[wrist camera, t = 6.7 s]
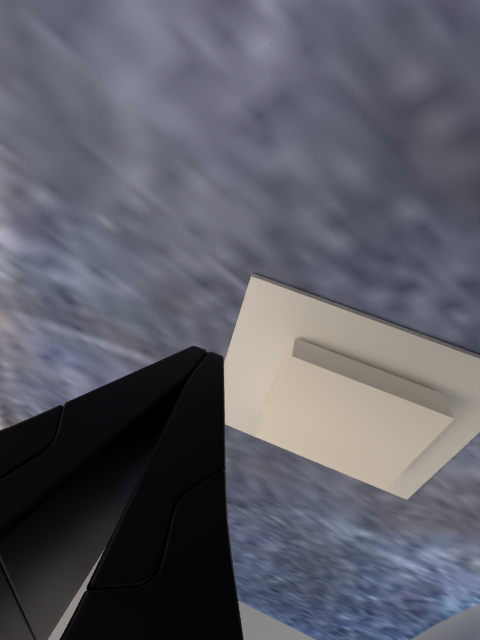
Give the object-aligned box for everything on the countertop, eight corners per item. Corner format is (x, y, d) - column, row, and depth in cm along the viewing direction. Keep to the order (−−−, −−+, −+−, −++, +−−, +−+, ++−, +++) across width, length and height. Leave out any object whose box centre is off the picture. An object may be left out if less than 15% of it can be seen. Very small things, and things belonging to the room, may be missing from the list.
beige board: (530, 373, 18) (536, 379, 18) (405, 492, 25) (406, 499, 25) (253, 273, 20) (251, 276, 19) (209, 412, 27) (207, 416, 26)
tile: (295, 335, 20) (440, 390, 19) (261, 412, 25) (379, 460, 24) (291, 356, 18) (454, 418, 17) (254, 436, 22) (384, 490, 21)
